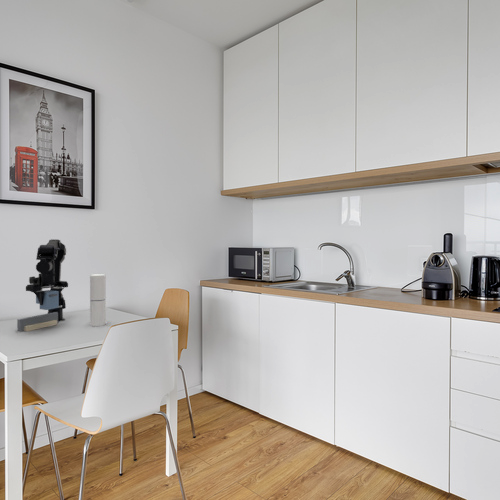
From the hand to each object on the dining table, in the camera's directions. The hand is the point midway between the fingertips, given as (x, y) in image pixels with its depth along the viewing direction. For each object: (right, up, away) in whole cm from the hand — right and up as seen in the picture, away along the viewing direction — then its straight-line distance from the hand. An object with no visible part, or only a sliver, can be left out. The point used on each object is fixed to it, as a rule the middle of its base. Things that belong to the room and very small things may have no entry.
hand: (47, 304), depth 186 cm
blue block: (0, -2, 0) cm, 2 cm away
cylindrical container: (+20, -12, +10) cm, 25 cm away
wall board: (-6, -12, +3) cm, 13 cm away
